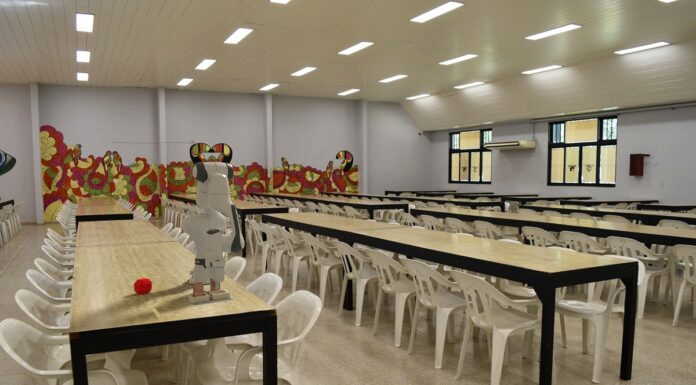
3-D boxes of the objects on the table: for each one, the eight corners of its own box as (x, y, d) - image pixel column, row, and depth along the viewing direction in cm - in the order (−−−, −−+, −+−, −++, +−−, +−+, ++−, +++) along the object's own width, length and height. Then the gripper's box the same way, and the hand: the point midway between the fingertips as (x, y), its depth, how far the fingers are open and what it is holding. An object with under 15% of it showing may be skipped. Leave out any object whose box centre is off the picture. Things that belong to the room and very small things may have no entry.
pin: (193, 300, 234) (192, 283, 234) (201, 298, 237) (201, 282, 236) (195, 301, 231) (194, 284, 231) (204, 300, 233) (203, 283, 233)
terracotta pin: (210, 293, 253) (209, 277, 252) (218, 292, 255) (217, 276, 254) (212, 294, 249) (212, 279, 249) (220, 293, 251) (219, 278, 251)
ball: (145, 291, 262) (144, 276, 262) (154, 292, 258) (154, 278, 258) (131, 294, 255) (131, 279, 255) (141, 295, 251) (141, 281, 251)
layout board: (185, 300, 239) (185, 292, 239) (222, 294, 249) (221, 287, 249) (194, 308, 224) (194, 300, 224) (233, 302, 233) (233, 294, 233)
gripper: (202, 259, 259) (203, 285, 259) (213, 264, 241) (214, 292, 242) (214, 258, 262) (215, 283, 262) (226, 263, 244) (227, 291, 245)
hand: (215, 288), depth 252 cm, fingers closed on terracotta pin, 4 cm apart
